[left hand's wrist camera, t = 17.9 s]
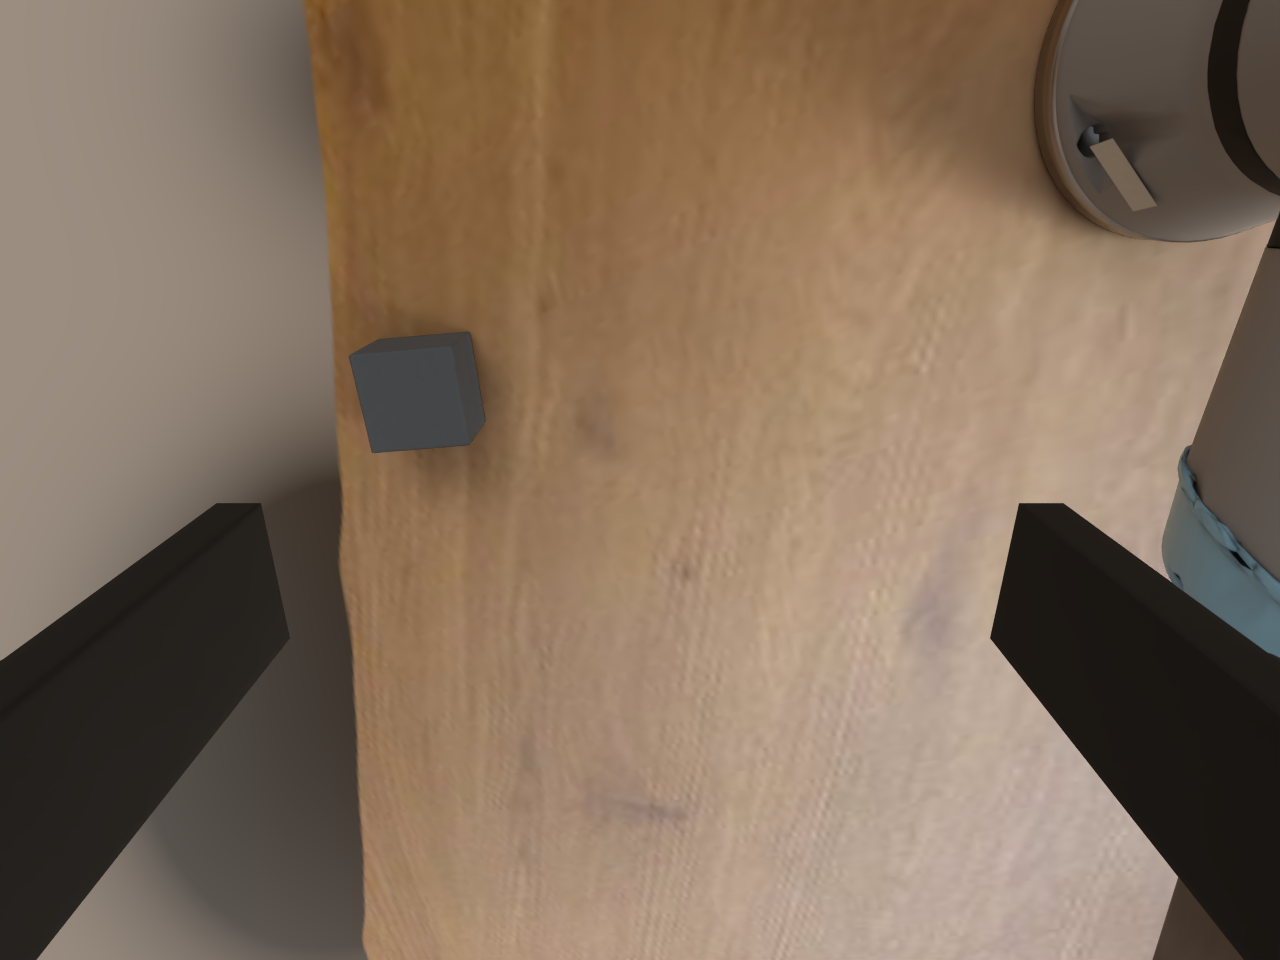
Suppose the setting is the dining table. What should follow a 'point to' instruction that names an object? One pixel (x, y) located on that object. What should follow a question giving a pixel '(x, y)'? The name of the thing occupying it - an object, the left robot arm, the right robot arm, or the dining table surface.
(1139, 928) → the dining table surface
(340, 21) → the dining table surface
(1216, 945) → the bar
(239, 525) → the left robot arm
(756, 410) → the dining table surface
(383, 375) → the slate block
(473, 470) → the dining table surface
